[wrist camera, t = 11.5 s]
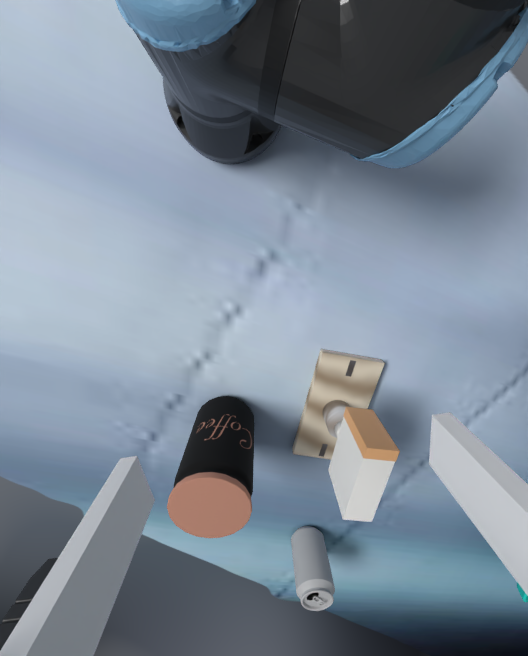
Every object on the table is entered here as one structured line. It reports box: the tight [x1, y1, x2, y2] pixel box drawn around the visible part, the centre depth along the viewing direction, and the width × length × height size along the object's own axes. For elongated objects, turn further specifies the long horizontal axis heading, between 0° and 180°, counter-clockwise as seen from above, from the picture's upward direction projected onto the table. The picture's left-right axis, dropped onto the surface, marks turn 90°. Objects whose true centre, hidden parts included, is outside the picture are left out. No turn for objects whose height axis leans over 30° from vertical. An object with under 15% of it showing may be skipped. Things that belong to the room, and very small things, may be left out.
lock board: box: [292, 349, 385, 459], centre depth 47 cm, size 22×11×6 cm, turn 169°
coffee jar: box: [167, 396, 254, 538], centre depth 42 cm, size 11×11×18 cm
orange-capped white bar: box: [328, 407, 400, 522], centre depth 39 cm, size 4×12×11 cm, turn 172°
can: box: [291, 526, 335, 611], centre depth 56 cm, size 8×8×12 cm
